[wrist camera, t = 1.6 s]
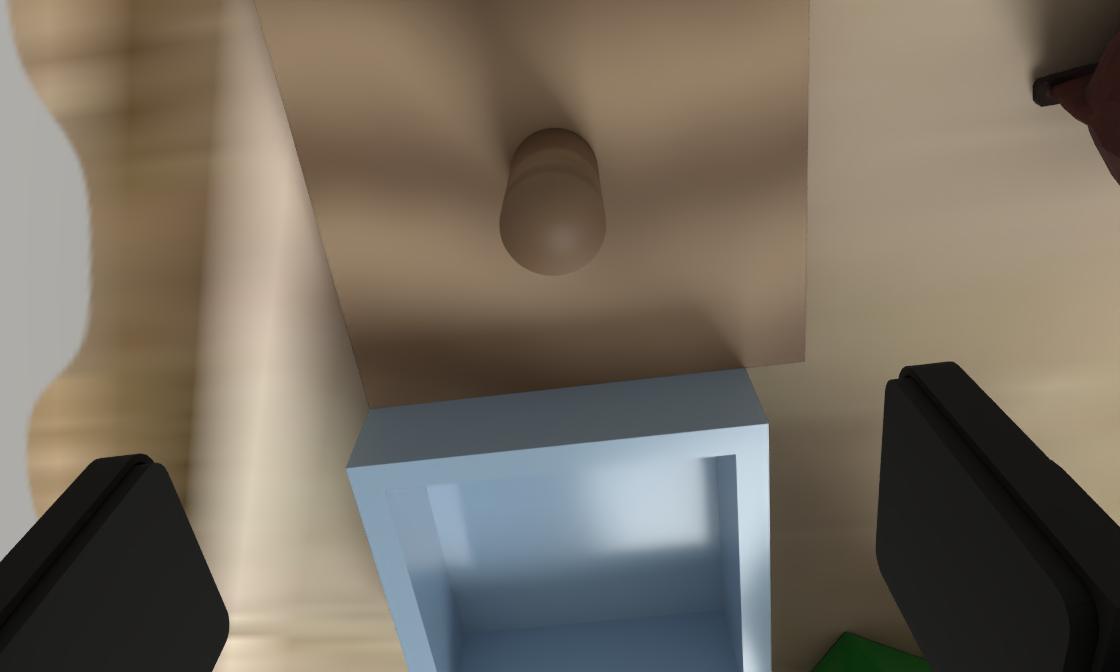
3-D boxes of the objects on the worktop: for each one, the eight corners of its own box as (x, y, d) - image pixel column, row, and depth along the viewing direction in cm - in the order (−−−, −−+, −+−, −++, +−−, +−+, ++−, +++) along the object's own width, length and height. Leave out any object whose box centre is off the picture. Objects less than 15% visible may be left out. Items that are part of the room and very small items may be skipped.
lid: (247, -72, 21) (142, -75, 16) (801, -155, 21) (884, -188, 15) (376, 394, 28) (331, 501, 23) (796, 347, 27) (854, 447, 22)
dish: (379, 386, 29) (345, 468, 24) (735, 346, 28) (768, 423, 23) (448, 638, 35) (430, 741, 30) (744, 610, 34) (771, 713, 29)
